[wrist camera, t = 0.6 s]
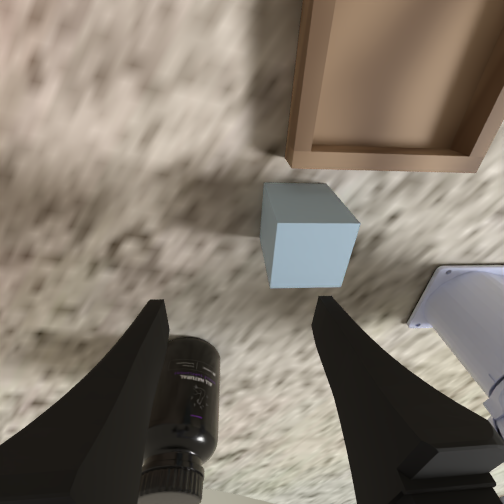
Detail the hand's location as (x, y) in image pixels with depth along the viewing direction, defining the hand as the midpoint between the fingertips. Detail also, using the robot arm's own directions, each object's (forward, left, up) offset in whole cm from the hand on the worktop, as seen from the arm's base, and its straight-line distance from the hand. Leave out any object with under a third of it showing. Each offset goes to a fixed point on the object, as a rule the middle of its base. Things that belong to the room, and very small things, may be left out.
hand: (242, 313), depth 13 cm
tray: (-9, -11, -9) cm, 17 cm away
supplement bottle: (+5, +16, -10) cm, 19 cm away
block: (-4, -1, -9) cm, 10 cm away
